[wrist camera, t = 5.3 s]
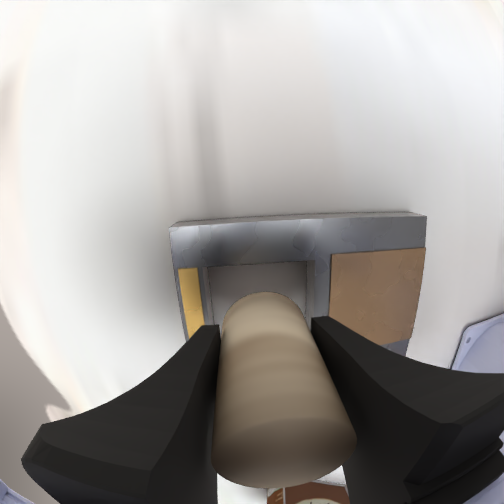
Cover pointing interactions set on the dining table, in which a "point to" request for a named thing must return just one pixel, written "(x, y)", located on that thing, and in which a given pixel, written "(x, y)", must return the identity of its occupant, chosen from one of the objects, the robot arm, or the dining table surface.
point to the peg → (275, 399)
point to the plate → (314, 266)
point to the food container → (309, 494)
